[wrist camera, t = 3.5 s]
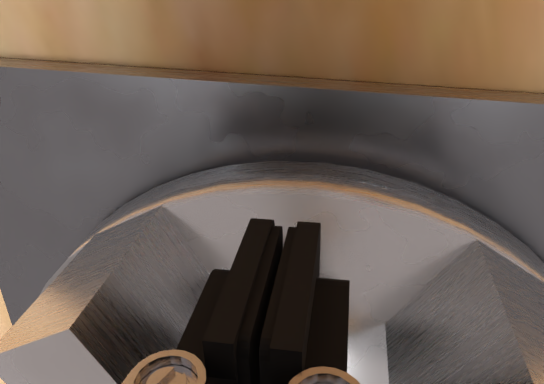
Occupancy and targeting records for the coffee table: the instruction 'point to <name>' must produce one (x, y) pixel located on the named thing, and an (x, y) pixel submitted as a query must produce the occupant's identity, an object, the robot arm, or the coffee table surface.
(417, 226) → the gear wheel
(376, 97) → the base plate
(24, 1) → the coffee table surface
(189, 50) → the coffee table surface
